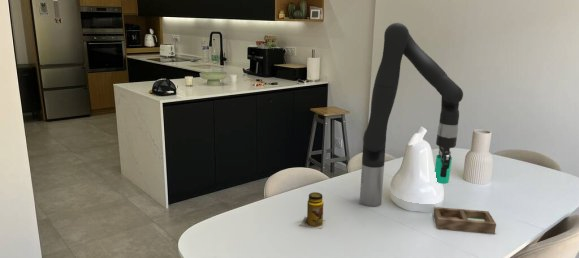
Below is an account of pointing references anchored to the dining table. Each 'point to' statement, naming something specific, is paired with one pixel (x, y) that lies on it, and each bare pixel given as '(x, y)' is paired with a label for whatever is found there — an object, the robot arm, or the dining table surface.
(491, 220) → the slot rack
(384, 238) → the dining table surface
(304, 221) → the condiment
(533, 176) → the dining table surface
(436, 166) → the candle
